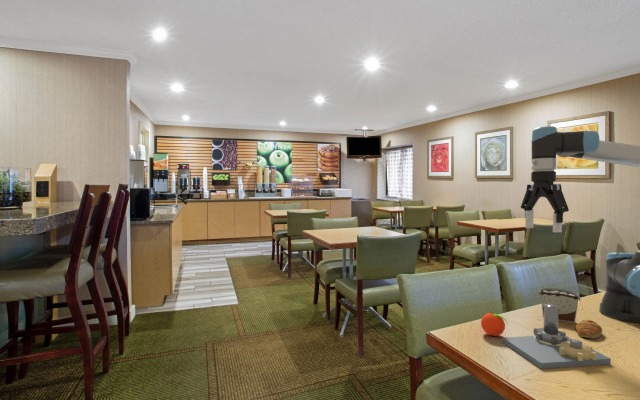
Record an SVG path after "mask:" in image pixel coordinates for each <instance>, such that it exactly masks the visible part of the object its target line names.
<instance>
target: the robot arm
mask: <svg viewBox="0 0 640 400" xmlns="http://www.w3.org/2000/svg"><path fill="white" fill-rule="evenodd" d="M557 129H558V128H557V127H556V126H549V125H548V126H540V127H536V128H534V129H533V130H532V133H531V142H530V143H531V170H532V171H531V174H530V180H531V181H530V182H532V183H533V184H527V185H526V190H525V193H524V197H523V200H522V202H521V203H520V204H521V205H520V209H523V210H524V219H525V229H534V216H535V215H534V208H535V206H536V204H537V203H538V201H539V199H540V198H545V199H547V201H548V202H549V204H550V206H551V208H552V209H553V213H552V233H562V232H563V229H562V228H563V222H564V213H566V212H567V213H569V210H570V209H569V206H568V203H567V201H566V198H565V195H564V192H563V191H562V184H560V183H554V182H556V180H557V172H556V170H557V156H558V157H562V158H573V159H582V160H589V161H596V162H601V163H608V164H614V165H621V166H628V167H634V168H640V145H637V144H630V143H622V142H615V141H614V142H613V141H606V140H600V134H599V133H598V131H596V130H579V131H578V130H576V131H563V132H562V131H561V132H560V131H558V130H557ZM605 266H606V267H605V293H604V294H603V297H602V299H601V302H600V303H599V310H598V311H599V312H600V313H601V314H602V315H604V316H606V317H610V318H613V319H617V320H621V321H626V322H633V323H640V249H639V250H636V252H635V253H633V252H632V253H630V252H608V253H607V255H606V259H605Z"/></svg>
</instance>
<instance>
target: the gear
mask: <svg viewBox="0 0 640 400" xmlns="http://www.w3.org/2000/svg"><path fill="white" fill-rule="evenodd" d="M566 334H567V332H565V331H563V330H562V331H560V330H559V320H558V306H557V305H553V304H544V318H543V327H539V328H538V327H534V328H533V335H536V339H537V340H542V341H544V342H547V343H551V344H552V345H556V344H561V342H564V341H569V338H570V336H567V335H566ZM566 336H567V337H566Z"/></svg>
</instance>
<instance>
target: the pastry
mask: <svg viewBox="0 0 640 400" xmlns="http://www.w3.org/2000/svg"><path fill="white" fill-rule="evenodd" d="M575 330H576V333H577V335H578V336H579V337H581V338H587V339H592V340H595V339H598V338H600V337H601V335H602V334H603V329H602V326H600V324H598V322H596V321H594V320H591V319H583V320H581V321H580V322H578V323H577V324H576V326H575Z"/></svg>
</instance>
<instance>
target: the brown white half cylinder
mask: <svg viewBox="0 0 640 400" xmlns="http://www.w3.org/2000/svg"><path fill="white" fill-rule="evenodd" d="M538 296H540V299H541V310H542V318H543V319H544V304H553V305H557V306H558V321H560V320H562V321H561V322H566V321H568V322H567V323H572V322H573V324H575V323H576V320H577V319H576V317H577V312H578V304H579V302H581V297H580V294H579V293H577V292H575V291H572V290H569V289H565V288H564V289H563V288H557V287H544V288H541V289H540V290H539V293H538Z"/></svg>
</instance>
